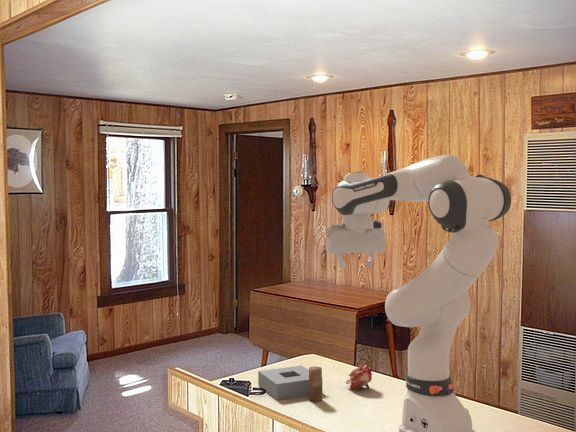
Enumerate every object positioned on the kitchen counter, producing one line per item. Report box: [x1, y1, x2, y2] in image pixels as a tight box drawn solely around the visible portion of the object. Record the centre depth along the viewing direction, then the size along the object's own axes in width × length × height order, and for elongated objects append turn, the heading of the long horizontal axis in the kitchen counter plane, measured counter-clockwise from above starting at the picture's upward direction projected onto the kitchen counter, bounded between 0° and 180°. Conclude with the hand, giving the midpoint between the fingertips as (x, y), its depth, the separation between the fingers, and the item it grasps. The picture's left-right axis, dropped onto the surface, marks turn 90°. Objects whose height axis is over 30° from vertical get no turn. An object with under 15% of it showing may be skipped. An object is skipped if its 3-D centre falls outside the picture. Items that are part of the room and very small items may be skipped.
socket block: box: [257, 365, 309, 401], centre depth 196 cm, size 16×16×5 cm
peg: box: [308, 365, 323, 403], centre depth 185 cm, size 4×4×10 cm
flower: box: [345, 364, 373, 390], centre depth 196 cm, size 10×9×8 cm
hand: (356, 267), depth 188 cm, fingers open, 8 cm apart
